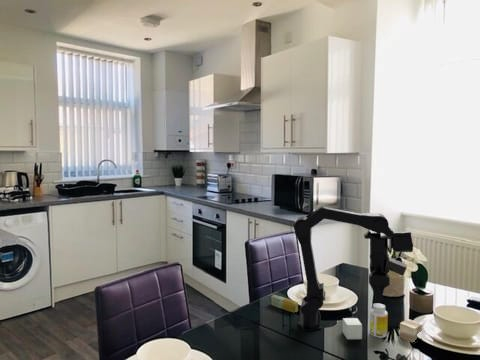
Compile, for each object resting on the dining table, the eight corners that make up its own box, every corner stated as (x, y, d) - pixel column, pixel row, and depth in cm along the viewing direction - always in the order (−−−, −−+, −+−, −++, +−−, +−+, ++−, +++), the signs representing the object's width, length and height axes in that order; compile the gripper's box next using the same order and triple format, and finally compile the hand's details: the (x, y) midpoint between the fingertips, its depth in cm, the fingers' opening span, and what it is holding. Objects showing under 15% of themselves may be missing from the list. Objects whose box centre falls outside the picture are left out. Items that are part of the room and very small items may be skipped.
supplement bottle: (390, 334, 126) (391, 305, 125) (381, 340, 122) (382, 310, 122) (375, 328, 130) (376, 300, 129) (366, 333, 127) (367, 305, 126)
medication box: (270, 305, 151) (270, 295, 151) (274, 303, 153) (274, 293, 153) (294, 313, 143) (294, 303, 143) (298, 311, 145) (298, 301, 145)
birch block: (414, 343, 120) (414, 328, 120) (399, 337, 124) (400, 322, 124) (422, 338, 123) (422, 324, 123) (407, 332, 127) (408, 318, 127)
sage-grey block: (347, 339, 123) (347, 325, 123) (342, 332, 128) (342, 318, 128) (361, 339, 123) (362, 324, 123) (356, 331, 128) (357, 318, 128)
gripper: (407, 260, 113) (407, 310, 114) (403, 245, 130) (403, 288, 131) (368, 258, 117) (369, 306, 118) (369, 244, 134) (370, 285, 135)
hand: (379, 296), depth 125 cm, fingers open, 9 cm apart
